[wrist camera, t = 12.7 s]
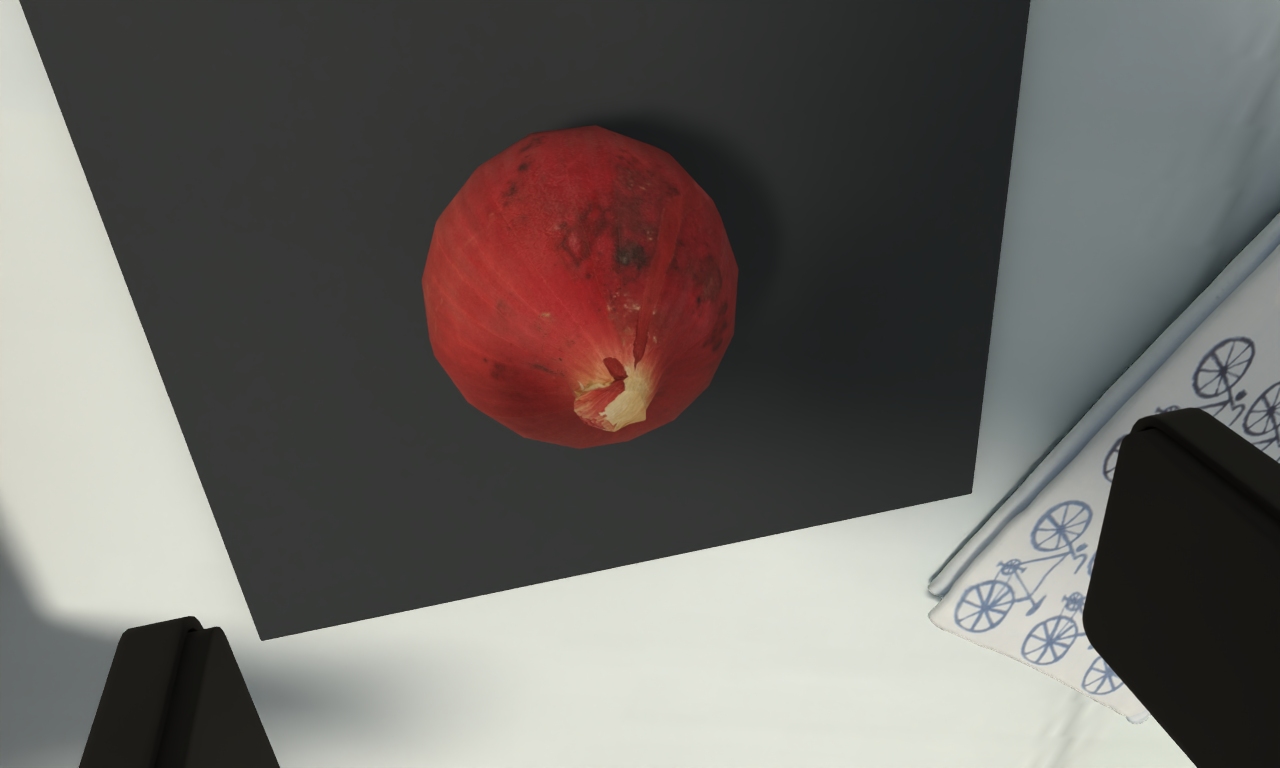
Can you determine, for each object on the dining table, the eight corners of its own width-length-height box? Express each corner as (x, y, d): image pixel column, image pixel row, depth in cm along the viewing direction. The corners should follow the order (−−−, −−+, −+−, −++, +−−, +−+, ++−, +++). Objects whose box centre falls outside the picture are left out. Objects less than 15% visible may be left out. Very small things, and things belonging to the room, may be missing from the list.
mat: (-82, -295, 15) (-96, -299, 15) (1060, -367, 18) (1076, -372, 18) (262, 629, 25) (260, 642, 25) (963, 484, 28) (972, 494, 28)
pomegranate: (463, 49, 19) (500, 161, 12) (719, 138, 21) (874, 276, 14) (390, 309, 21) (388, 526, 14) (628, 366, 23) (725, 579, 16)
